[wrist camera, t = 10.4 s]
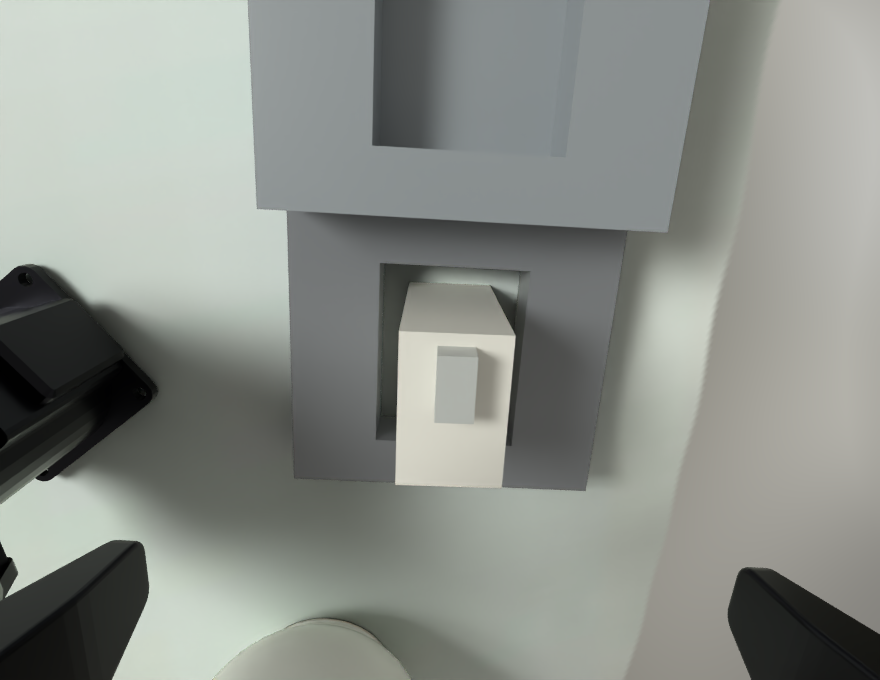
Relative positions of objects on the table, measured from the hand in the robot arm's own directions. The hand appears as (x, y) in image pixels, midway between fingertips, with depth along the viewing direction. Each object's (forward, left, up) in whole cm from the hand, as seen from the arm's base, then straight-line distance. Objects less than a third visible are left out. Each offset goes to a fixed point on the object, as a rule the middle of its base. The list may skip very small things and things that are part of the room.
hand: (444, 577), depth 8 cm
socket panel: (+3, +3, -13) cm, 14 cm away
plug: (0, -1, -13) cm, 13 cm away
